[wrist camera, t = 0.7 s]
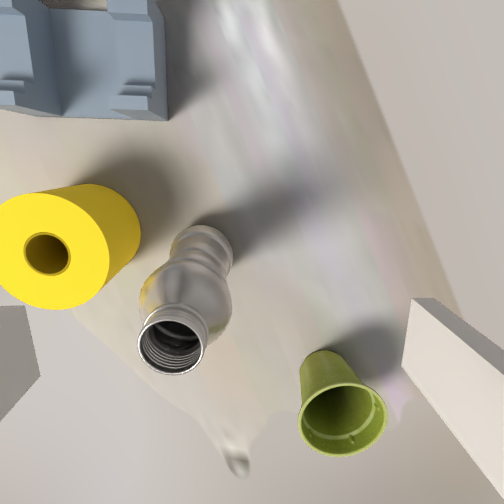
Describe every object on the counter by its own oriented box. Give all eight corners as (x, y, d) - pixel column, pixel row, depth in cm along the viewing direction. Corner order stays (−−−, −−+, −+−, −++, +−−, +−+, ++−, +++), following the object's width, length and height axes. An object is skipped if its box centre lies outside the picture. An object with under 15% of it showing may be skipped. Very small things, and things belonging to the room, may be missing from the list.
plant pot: (302, 410, 44) (317, 469, 36) (275, 355, 42) (284, 404, 33) (367, 384, 43) (398, 438, 35) (344, 326, 41) (371, 370, 33)
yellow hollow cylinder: (99, 165, 34) (50, 167, 25) (159, 241, 37) (134, 269, 28) (27, 217, 35) (-45, 238, 26) (90, 288, 38) (44, 330, 29)
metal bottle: (194, 209, 36) (145, 268, 17) (245, 242, 37) (254, 333, 18) (163, 256, 37) (86, 361, 18) (214, 286, 39) (191, 415, 19)
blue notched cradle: (21, 11, 30) (-53, -39, 22) (164, 18, 31) (140, -28, 23) (36, 116, 33) (-26, 103, 25) (168, 121, 33) (147, 110, 26)
